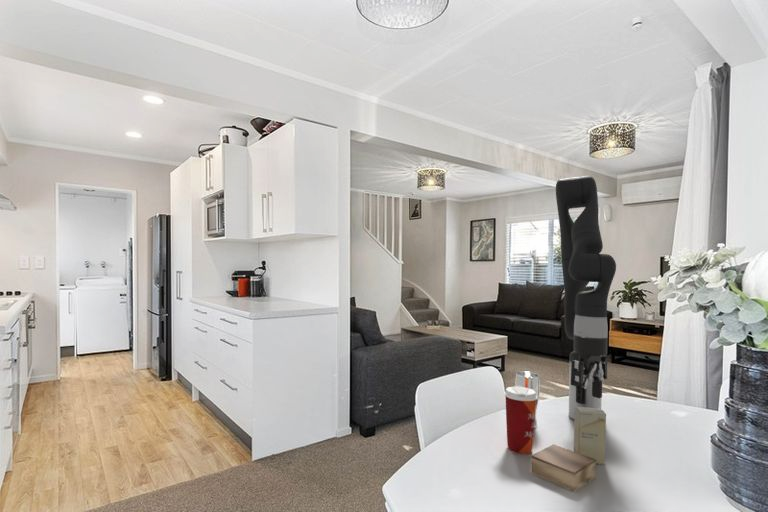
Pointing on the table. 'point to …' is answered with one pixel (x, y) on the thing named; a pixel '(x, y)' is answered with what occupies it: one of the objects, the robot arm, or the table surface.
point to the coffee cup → (520, 418)
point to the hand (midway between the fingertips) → (589, 400)
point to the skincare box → (590, 433)
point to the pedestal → (563, 467)
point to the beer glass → (529, 385)
